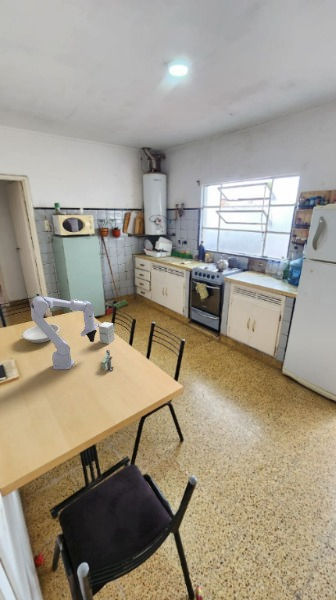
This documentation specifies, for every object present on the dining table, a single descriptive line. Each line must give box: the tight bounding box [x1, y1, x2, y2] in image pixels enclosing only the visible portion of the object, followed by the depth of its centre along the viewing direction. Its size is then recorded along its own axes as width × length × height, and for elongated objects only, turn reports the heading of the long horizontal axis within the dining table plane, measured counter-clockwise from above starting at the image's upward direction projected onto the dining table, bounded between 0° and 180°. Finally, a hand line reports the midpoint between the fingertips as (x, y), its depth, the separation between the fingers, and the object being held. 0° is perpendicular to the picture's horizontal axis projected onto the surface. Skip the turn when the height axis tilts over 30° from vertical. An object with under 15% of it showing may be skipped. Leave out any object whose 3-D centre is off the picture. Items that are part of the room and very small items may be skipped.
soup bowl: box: [21, 323, 61, 344], centre depth 175 cm, size 24×24×7 cm
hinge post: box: [105, 349, 113, 361], centre depth 152 cm, size 4×4×6 cm
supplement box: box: [98, 321, 116, 345], centre depth 171 cm, size 7×7×13 cm
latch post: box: [106, 359, 114, 372], centre depth 142 cm, size 3×4×6 cm
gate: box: [102, 353, 109, 370], centre depth 146 cm, size 10×1×4 cm, turn 0°
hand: (92, 341), depth 153 cm, fingers closed
